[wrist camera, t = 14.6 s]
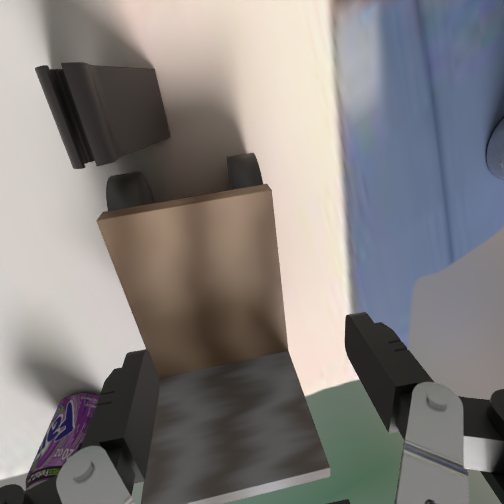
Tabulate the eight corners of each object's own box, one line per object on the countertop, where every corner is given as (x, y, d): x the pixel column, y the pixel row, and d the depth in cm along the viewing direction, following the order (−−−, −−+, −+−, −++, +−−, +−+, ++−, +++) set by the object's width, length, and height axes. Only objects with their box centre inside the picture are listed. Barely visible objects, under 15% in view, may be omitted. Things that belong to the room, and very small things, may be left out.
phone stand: (79, 150, 31) (19, 178, 21) (55, 81, 28) (-30, 73, 18) (170, 137, 32) (157, 157, 21) (155, 69, 29) (131, 54, 19)
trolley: (250, 146, 33) (323, 218, 14) (271, 315, 44) (330, 489, 25) (116, 168, 32) (-4, 278, 13) (172, 336, 43) (151, 535, 24)
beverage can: (99, 383, 45) (68, 472, 34) (119, 414, 48) (97, 504, 37) (50, 397, 44) (4, 491, 34) (74, 427, 48) (39, 521, 37)
